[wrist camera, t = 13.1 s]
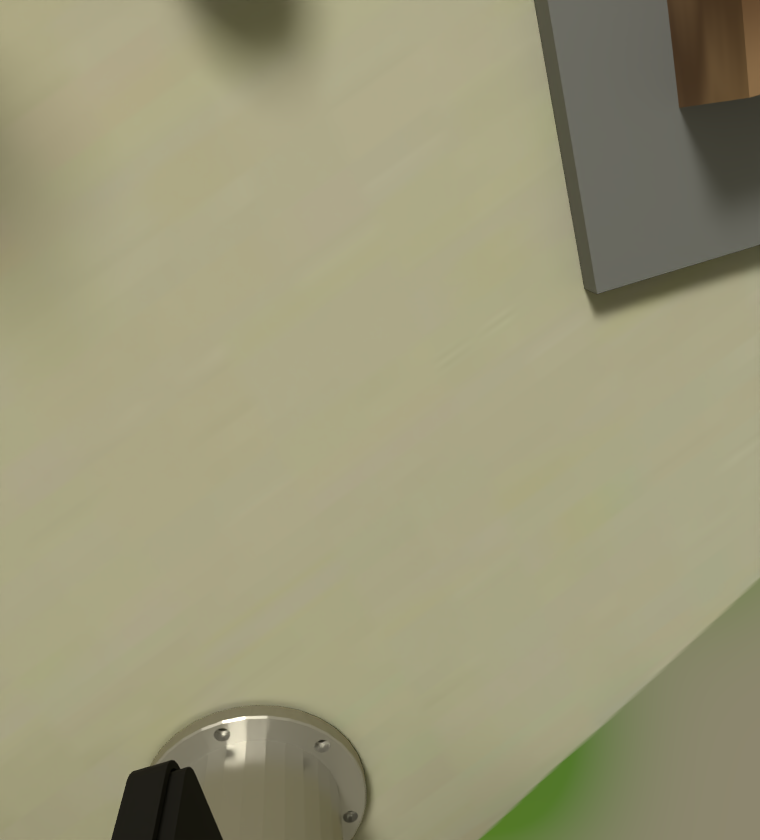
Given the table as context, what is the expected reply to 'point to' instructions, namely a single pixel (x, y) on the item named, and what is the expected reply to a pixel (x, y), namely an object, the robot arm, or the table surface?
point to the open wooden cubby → (715, 49)
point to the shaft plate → (644, 146)
